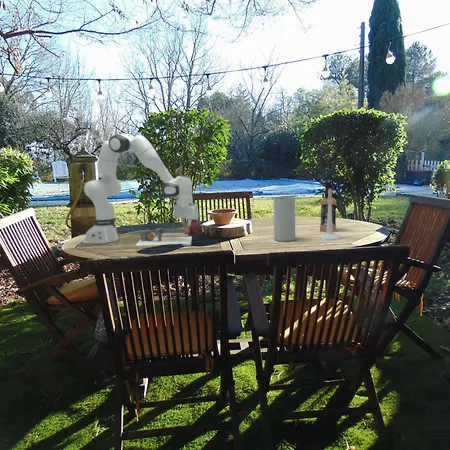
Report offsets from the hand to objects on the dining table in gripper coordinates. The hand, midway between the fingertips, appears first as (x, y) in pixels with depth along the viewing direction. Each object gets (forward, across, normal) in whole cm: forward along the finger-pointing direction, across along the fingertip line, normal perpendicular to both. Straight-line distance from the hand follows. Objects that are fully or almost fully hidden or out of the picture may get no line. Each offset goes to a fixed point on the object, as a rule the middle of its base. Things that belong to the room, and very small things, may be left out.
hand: (186, 225), depth 237 cm
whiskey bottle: (+10, -45, -83) cm, 95 cm away
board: (+10, +10, +10) cm, 17 cm away
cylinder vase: (+10, -42, -41) cm, 59 cm away
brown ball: (+9, +17, +15) cm, 24 cm away
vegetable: (+10, +18, -20) cm, 29 cm away
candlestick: (+10, -60, -61) cm, 86 cm away
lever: (+5, +6, +7) cm, 10 cm away
